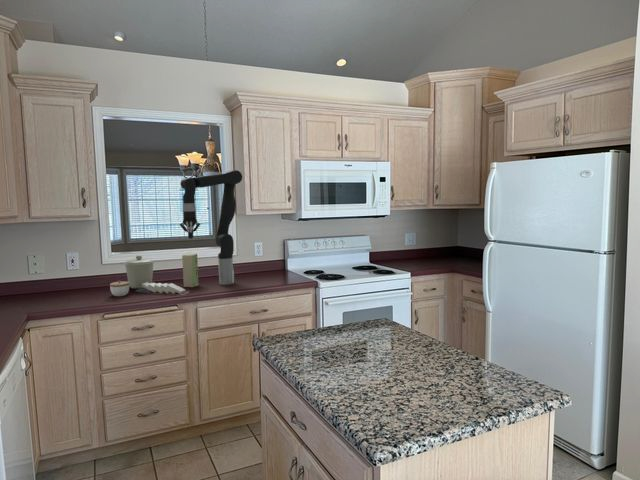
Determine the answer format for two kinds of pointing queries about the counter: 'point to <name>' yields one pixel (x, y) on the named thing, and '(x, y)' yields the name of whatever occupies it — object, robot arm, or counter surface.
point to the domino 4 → (160, 287)
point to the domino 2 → (148, 287)
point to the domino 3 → (154, 287)
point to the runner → (168, 293)
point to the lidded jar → (119, 288)
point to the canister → (139, 271)
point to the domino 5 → (167, 288)
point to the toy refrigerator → (190, 270)
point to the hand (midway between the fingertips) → (190, 238)
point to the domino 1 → (143, 290)
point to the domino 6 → (175, 288)
